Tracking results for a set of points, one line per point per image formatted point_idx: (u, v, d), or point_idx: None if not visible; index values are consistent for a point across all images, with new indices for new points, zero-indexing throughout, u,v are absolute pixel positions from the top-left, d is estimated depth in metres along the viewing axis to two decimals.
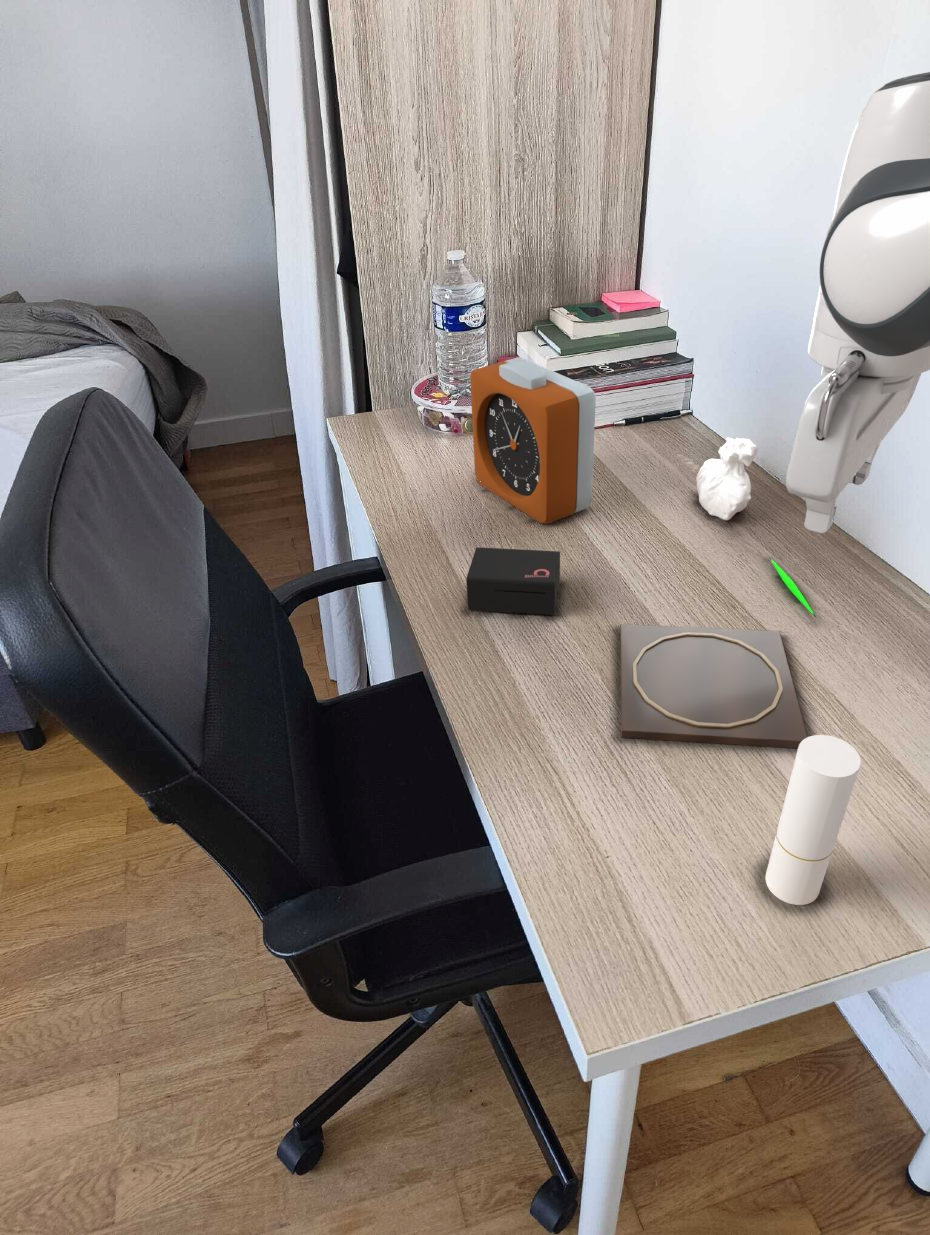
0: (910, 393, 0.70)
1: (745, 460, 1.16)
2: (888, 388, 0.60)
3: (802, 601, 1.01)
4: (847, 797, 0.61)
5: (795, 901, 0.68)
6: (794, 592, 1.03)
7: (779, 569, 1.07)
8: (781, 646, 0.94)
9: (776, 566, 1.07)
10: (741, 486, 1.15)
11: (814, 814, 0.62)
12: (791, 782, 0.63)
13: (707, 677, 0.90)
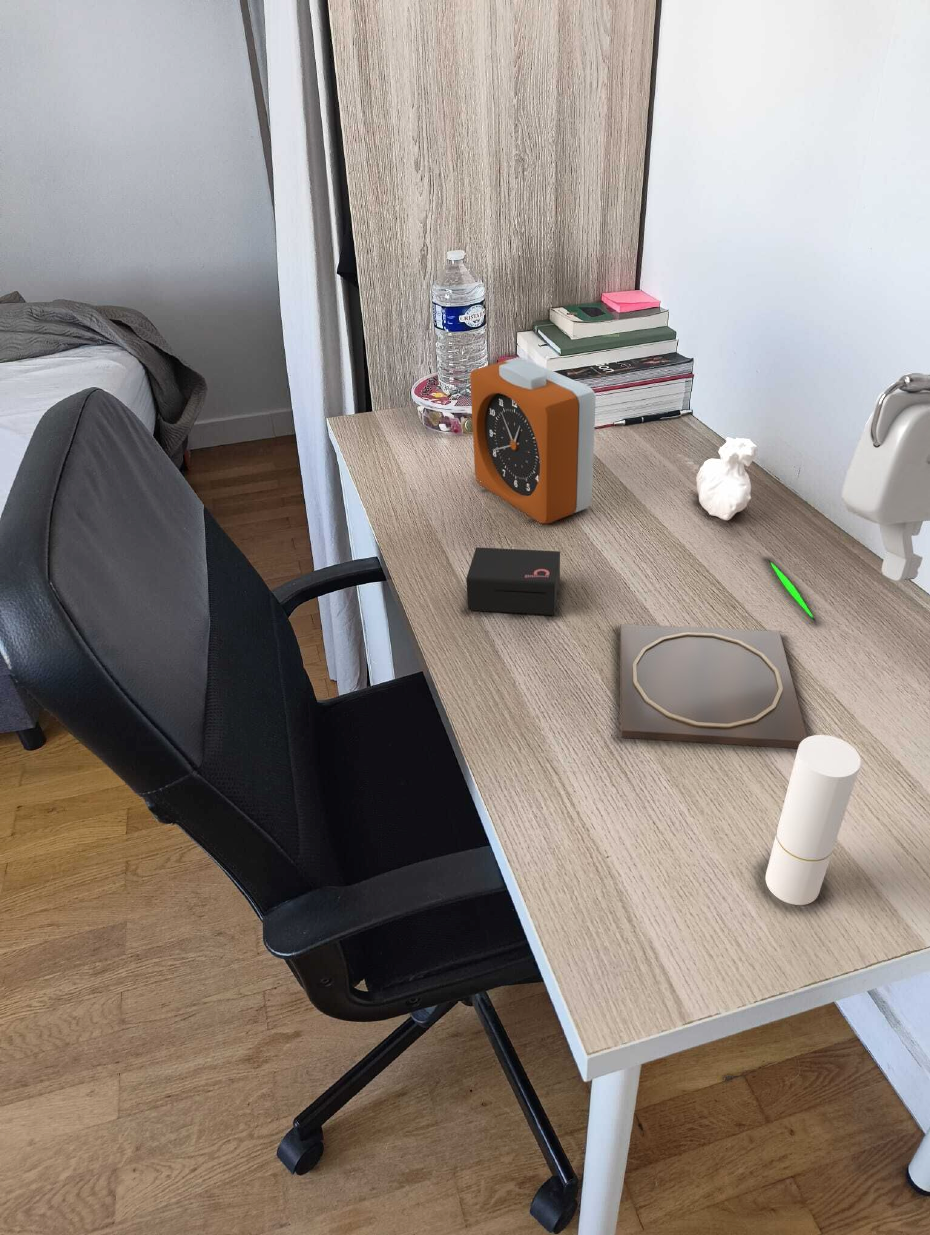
0: None
1: (745, 460, 1.16)
2: None
3: (801, 604, 1.01)
4: (847, 797, 0.61)
5: (795, 901, 0.68)
6: (794, 595, 1.03)
7: (779, 572, 1.07)
8: (781, 646, 0.94)
9: (776, 569, 1.08)
10: (741, 486, 1.15)
11: (814, 814, 0.62)
12: (791, 782, 0.63)
13: (707, 677, 0.90)
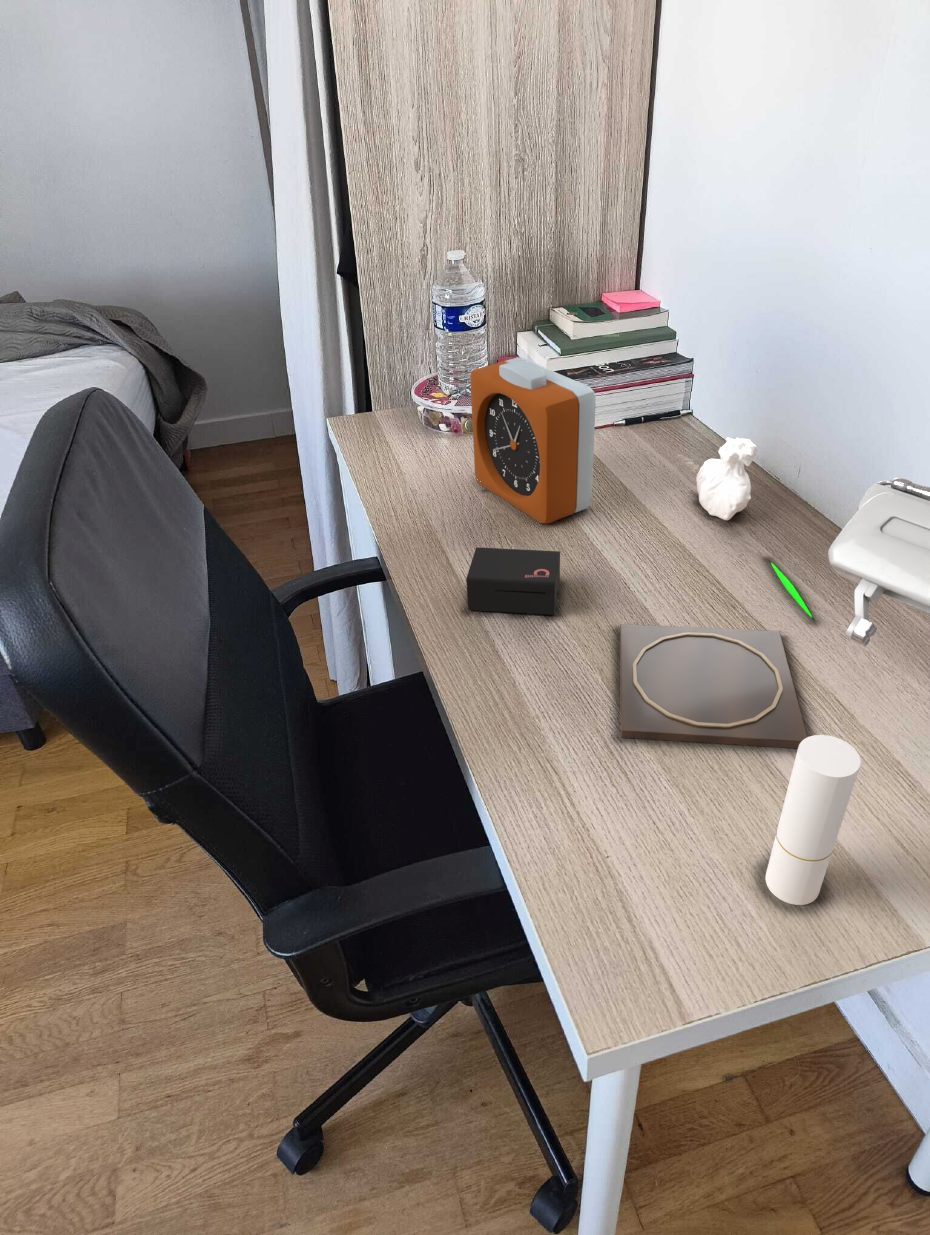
0: None
1: (745, 460, 1.16)
2: None
3: (801, 604, 1.01)
4: (847, 797, 0.61)
5: (795, 901, 0.68)
6: (793, 595, 1.03)
7: (779, 572, 1.07)
8: (781, 646, 0.94)
9: (776, 569, 1.08)
10: (741, 486, 1.15)
11: (814, 814, 0.62)
12: (791, 782, 0.63)
13: (707, 677, 0.90)
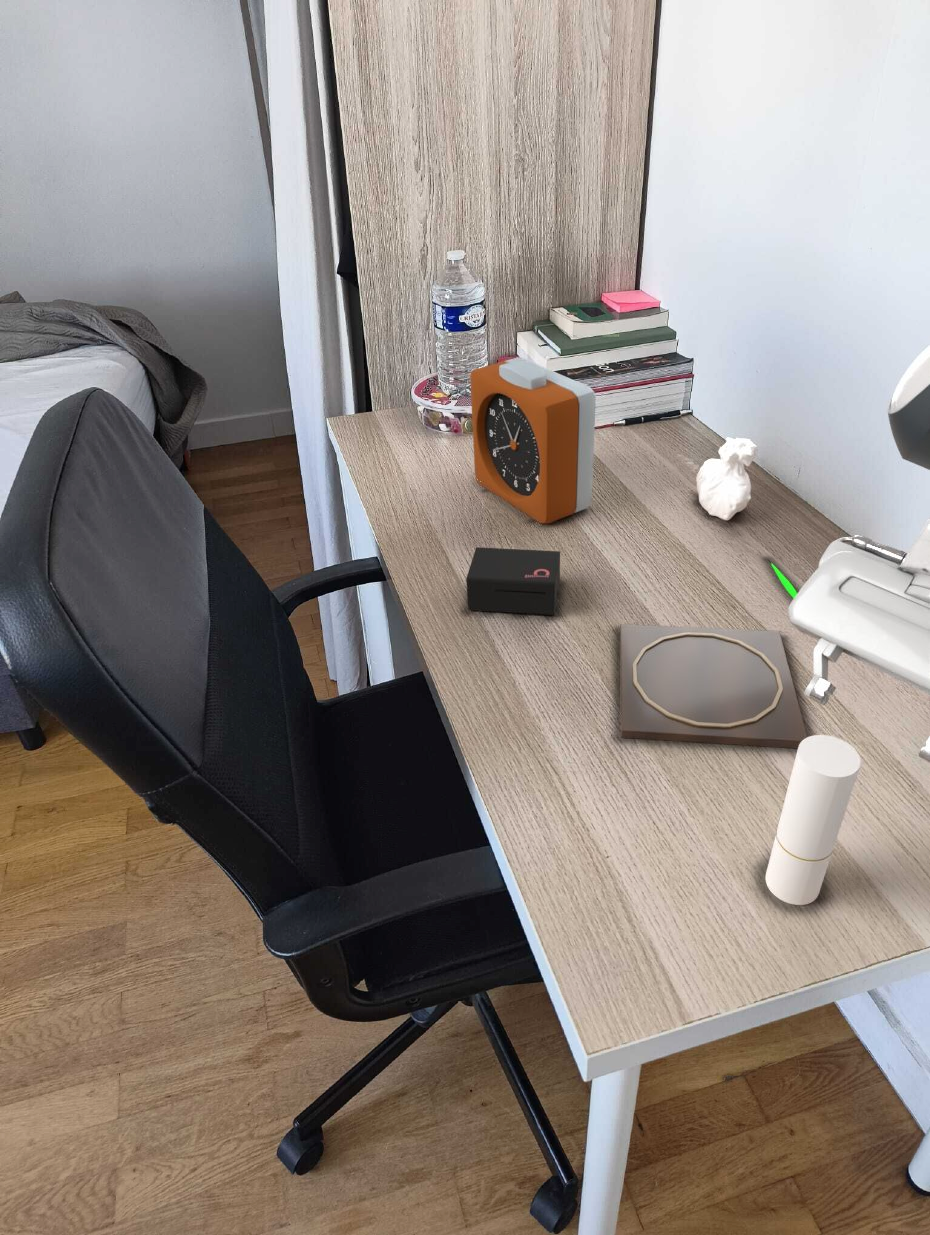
0: None
1: (745, 460, 1.16)
2: (910, 588, 0.64)
3: None
4: (847, 797, 0.61)
5: (795, 901, 0.68)
6: (793, 596, 1.03)
7: (778, 573, 1.07)
8: (781, 646, 0.94)
9: (776, 570, 1.08)
10: (741, 486, 1.15)
11: (814, 814, 0.62)
12: (791, 782, 0.63)
13: (707, 677, 0.90)
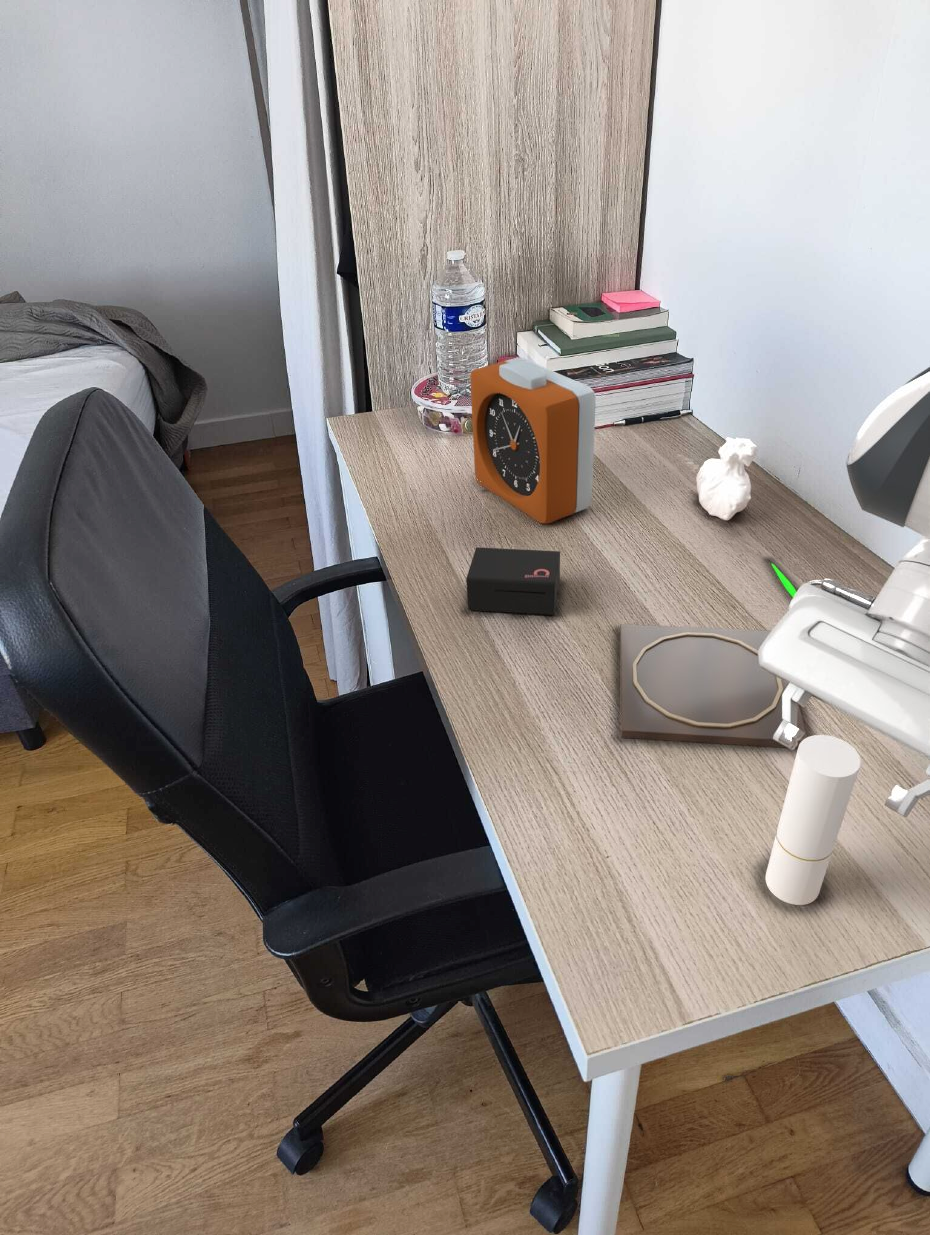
0: None
1: (745, 460, 1.16)
2: (878, 635, 0.64)
3: None
4: (847, 797, 0.61)
5: (795, 901, 0.68)
6: (793, 596, 1.03)
7: (779, 573, 1.07)
8: None
9: (776, 570, 1.08)
10: (741, 486, 1.15)
11: (814, 814, 0.62)
12: (791, 782, 0.63)
13: (707, 677, 0.90)
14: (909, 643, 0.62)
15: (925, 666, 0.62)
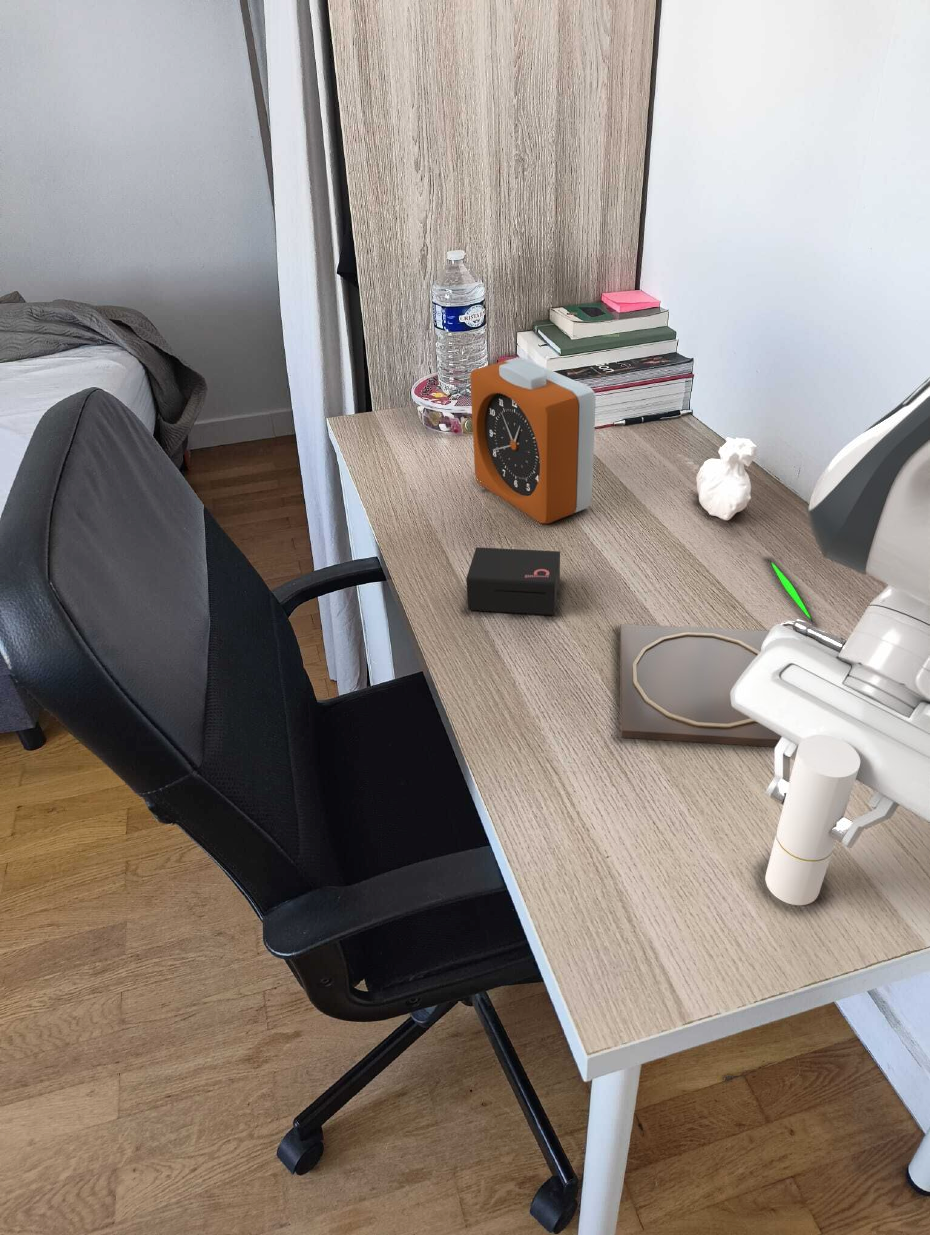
0: None
1: (745, 460, 1.16)
2: (848, 679, 0.64)
3: (799, 605, 1.01)
4: (846, 797, 0.61)
5: (795, 901, 0.68)
6: (792, 596, 1.03)
7: (779, 572, 1.07)
8: None
9: (776, 569, 1.08)
10: (741, 486, 1.15)
11: (814, 814, 0.62)
12: (791, 782, 0.63)
13: (707, 677, 0.90)
14: (878, 689, 0.62)
15: (894, 712, 0.62)
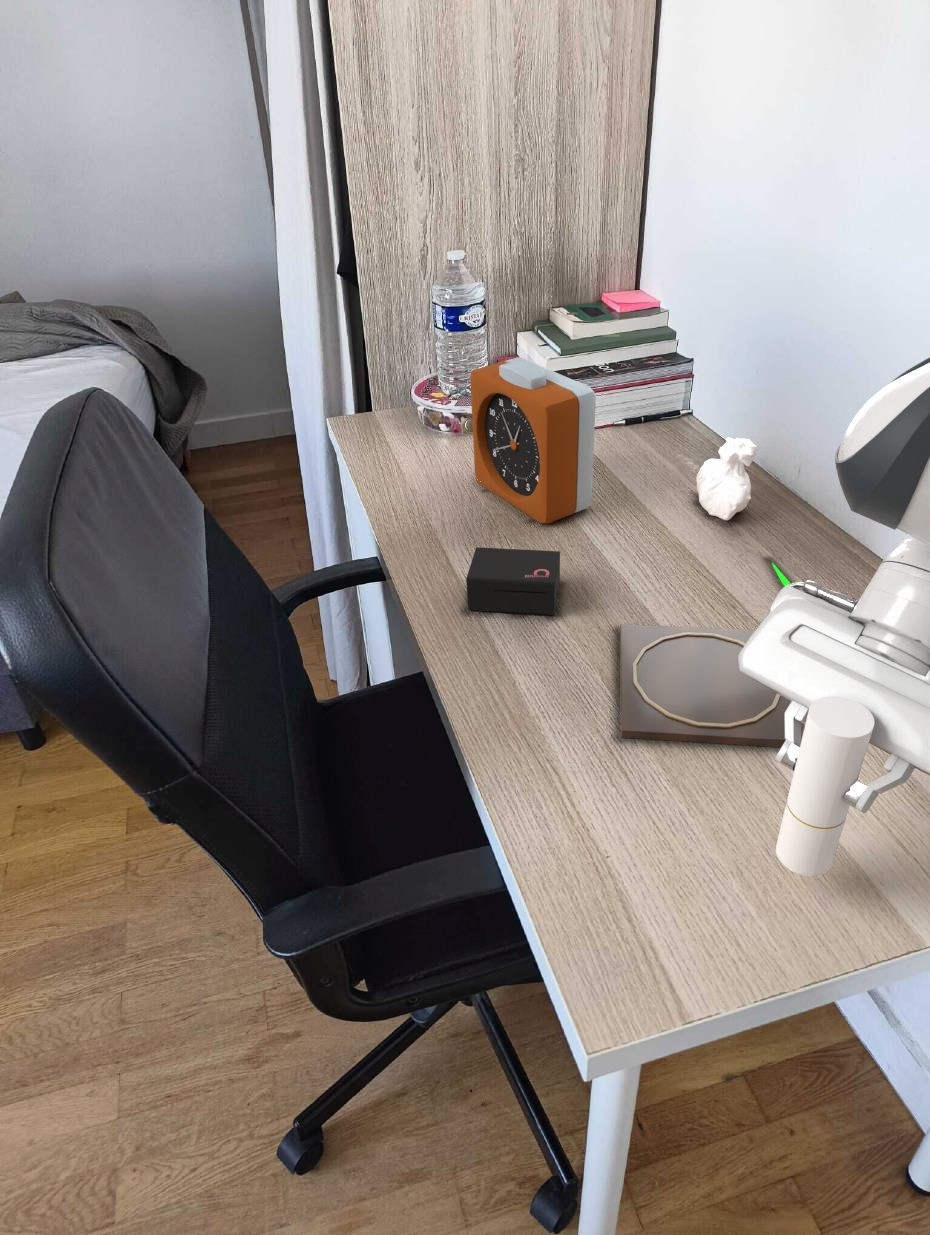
0: None
1: (745, 460, 1.16)
2: (860, 639, 0.62)
3: None
4: (860, 759, 0.59)
5: (807, 872, 0.66)
6: None
7: (779, 573, 1.07)
8: None
9: (776, 570, 1.08)
10: (741, 486, 1.15)
11: (827, 778, 0.60)
12: (802, 745, 0.61)
13: (707, 677, 0.90)
14: (892, 647, 0.59)
15: (909, 671, 0.59)
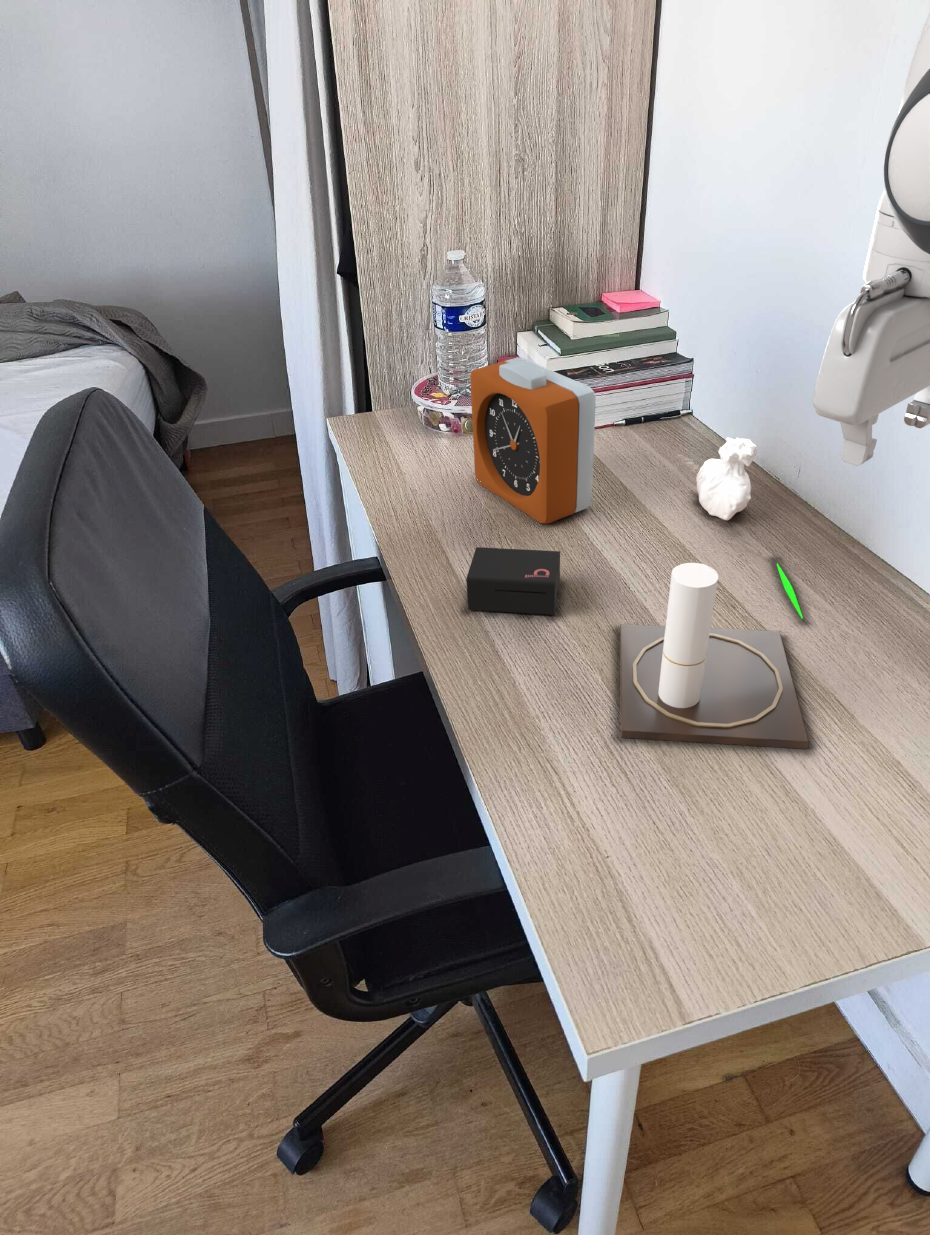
0: None
1: (745, 460, 1.16)
2: None
3: (795, 605, 1.01)
4: (709, 607, 0.79)
5: (679, 704, 0.86)
6: (789, 596, 1.03)
7: (781, 573, 1.07)
8: (781, 646, 0.94)
9: (779, 570, 1.08)
10: (741, 486, 1.15)
11: (685, 622, 0.80)
12: None
13: (707, 677, 0.90)
14: None
15: None
